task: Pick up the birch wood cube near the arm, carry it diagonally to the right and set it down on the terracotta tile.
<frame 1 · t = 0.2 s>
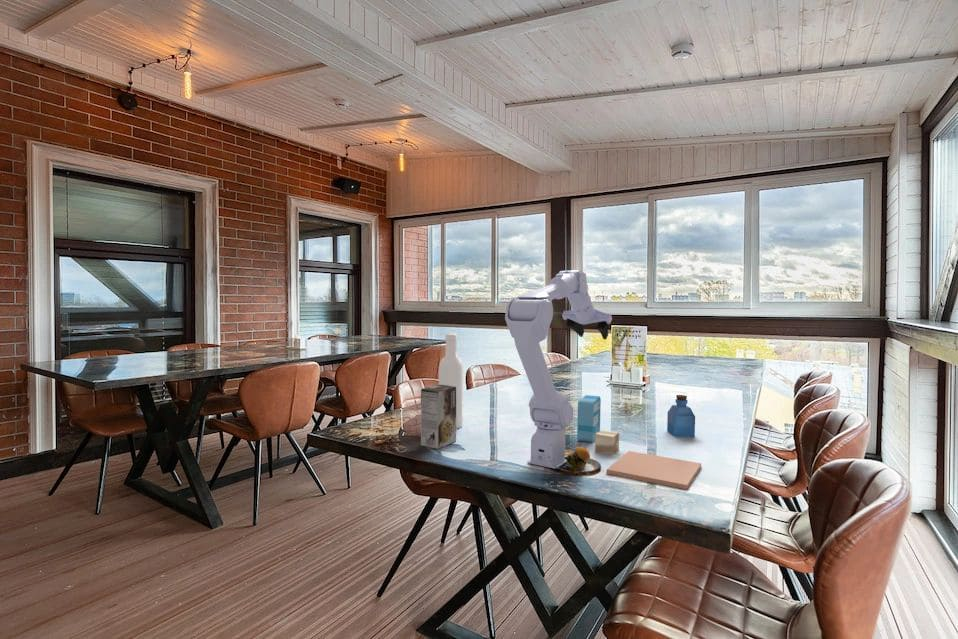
hand: (593, 335, 151), 31 cm above the table, tool tilted 45°, fingers open, 7 cm apart
birch cube: (607, 451, 138), on the table
coffee box: (438, 444, 144), on the table
perfume bottle: (680, 434, 157), on the table
bottle: (450, 426, 164), on the table
burger: (576, 471, 124), on the table, touching arm
terracotta tile: (654, 470, 123), on the table
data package: (588, 438, 152), on the table
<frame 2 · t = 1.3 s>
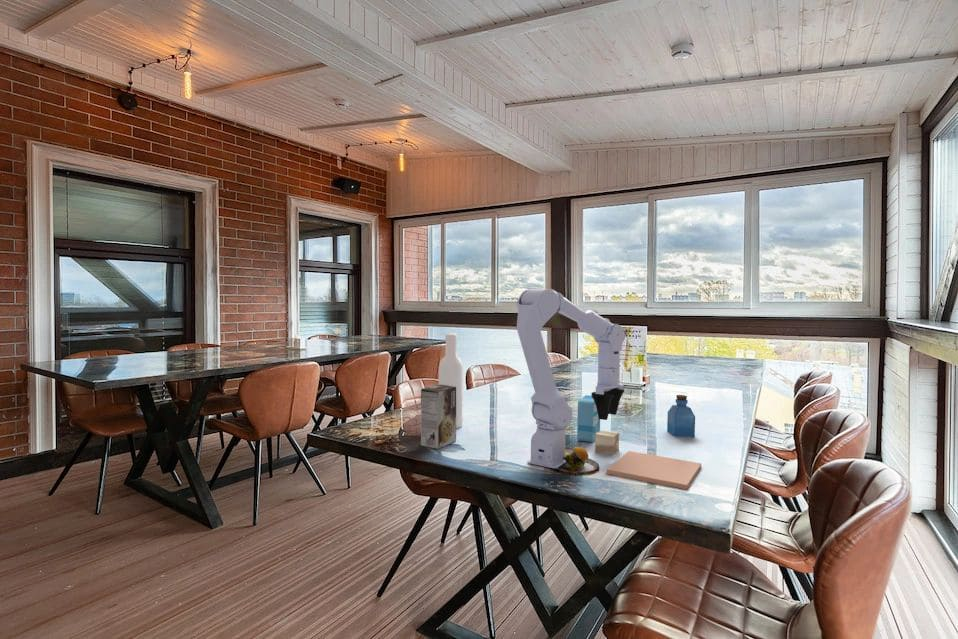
hand: (607, 416, 138), 9 cm above the table, tool pointing down, fingers open, 7 cm apart
nothing on the table moved.
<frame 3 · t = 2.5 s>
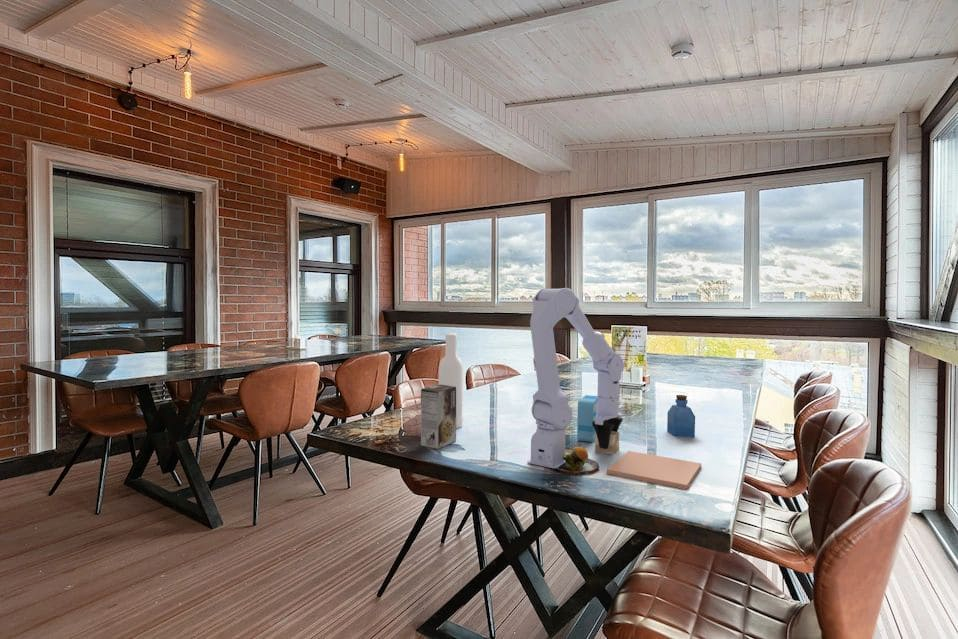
hand: (607, 445, 138), 1 cm above the table, tool pointing down, fingers closed on birch cube, 5 cm apart
birch cube: (607, 450, 138), on the table, touching gripper
everything else where it was.
when the fingers open (4 cm above the table, at t = 6.4 s): birch cube drops 2 cm, resting on terracotta tile.
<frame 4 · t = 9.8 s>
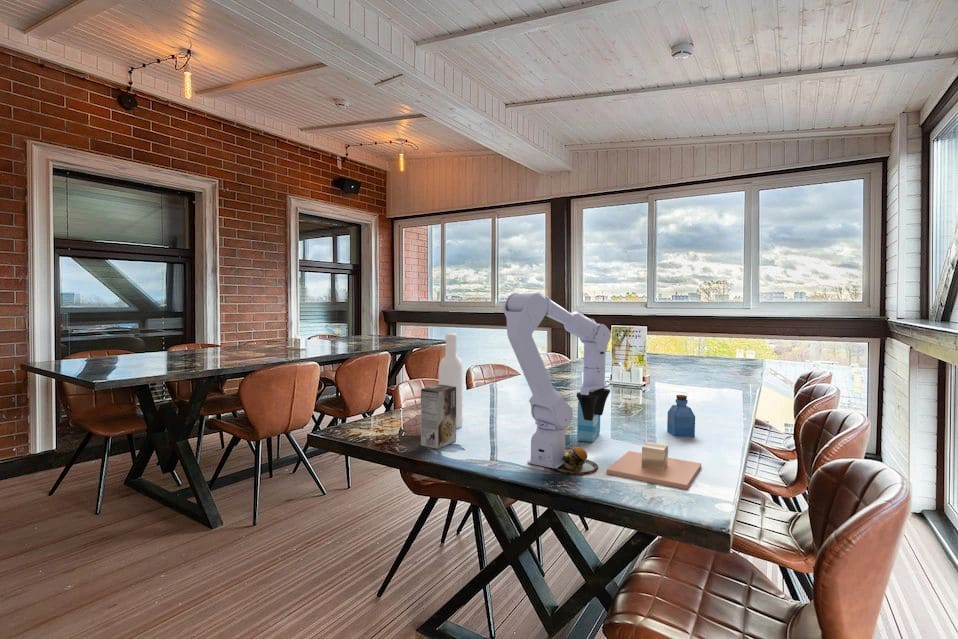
hand: (593, 417, 137), 9 cm above the table, tool pointing down, fingers open, 7 cm apart
birch cube: (654, 466, 123), point 1 cm above the table, touching terracotta tile
at the end: birch cube inside the target area on the terracotta tile (0.1 cm from its centre), point 1.0 cm above the terracotta tile's base; birch cube tilted 0°; the gripper is holding nothing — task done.
